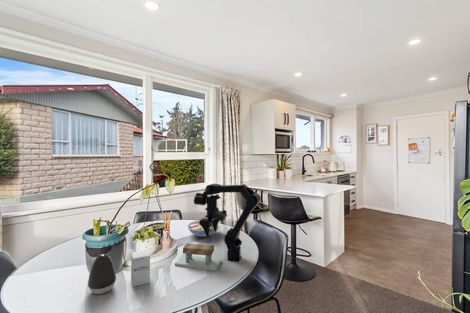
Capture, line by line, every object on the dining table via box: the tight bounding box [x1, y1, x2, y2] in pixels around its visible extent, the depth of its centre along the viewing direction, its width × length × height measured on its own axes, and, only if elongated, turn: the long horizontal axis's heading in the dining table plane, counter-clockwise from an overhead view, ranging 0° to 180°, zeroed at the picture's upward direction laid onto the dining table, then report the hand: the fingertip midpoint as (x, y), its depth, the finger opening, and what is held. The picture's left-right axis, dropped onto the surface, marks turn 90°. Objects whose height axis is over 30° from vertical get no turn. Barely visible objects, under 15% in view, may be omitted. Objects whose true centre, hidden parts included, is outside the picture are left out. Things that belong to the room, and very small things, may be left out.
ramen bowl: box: [186, 219, 221, 238], centre depth 163 cm, size 25×23×8 cm
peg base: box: [174, 254, 222, 272], centre depth 122 cm, size 22×10×6 cm, turn 77°
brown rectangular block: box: [182, 242, 215, 257], centre depth 122 cm, size 15×6×3 cm, turn 82°
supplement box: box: [130, 249, 151, 288], centre depth 105 cm, size 7×7×13 cm
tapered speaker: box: [87, 253, 117, 295], centre depth 98 cm, size 10×10×15 cm
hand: (211, 233), depth 133 cm, fingers open, 9 cm apart
